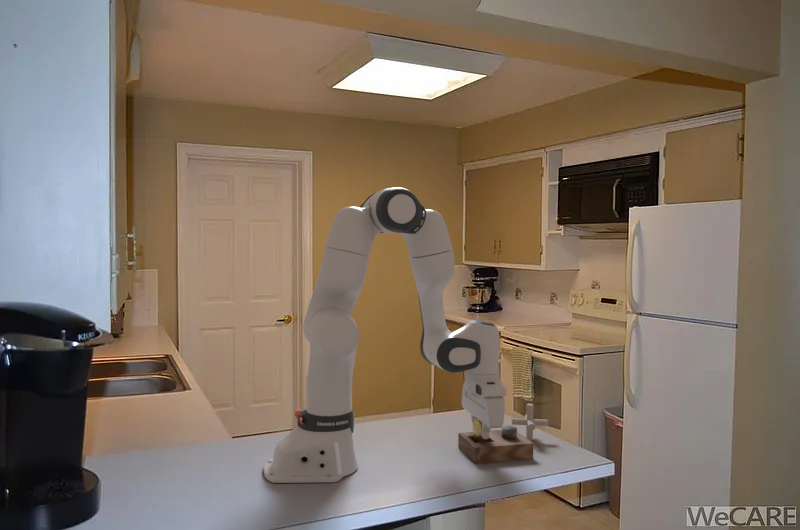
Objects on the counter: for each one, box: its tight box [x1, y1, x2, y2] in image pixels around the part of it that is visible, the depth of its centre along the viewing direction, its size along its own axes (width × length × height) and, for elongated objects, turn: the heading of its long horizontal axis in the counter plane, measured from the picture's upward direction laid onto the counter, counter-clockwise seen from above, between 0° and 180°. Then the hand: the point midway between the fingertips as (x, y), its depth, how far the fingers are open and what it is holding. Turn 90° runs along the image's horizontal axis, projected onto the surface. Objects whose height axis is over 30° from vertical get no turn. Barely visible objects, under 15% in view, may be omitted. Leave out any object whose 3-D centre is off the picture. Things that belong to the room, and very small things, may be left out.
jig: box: [457, 425, 534, 465], centre depth 158 cm, size 16×12×6 cm
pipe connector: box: [511, 403, 549, 442], centre depth 170 cm, size 10×10×10 cm
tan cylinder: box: [472, 417, 489, 443], centre depth 157 cm, size 4×4×7 cm
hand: (480, 434), depth 157 cm, fingers closed on tan cylinder, 4 cm apart
